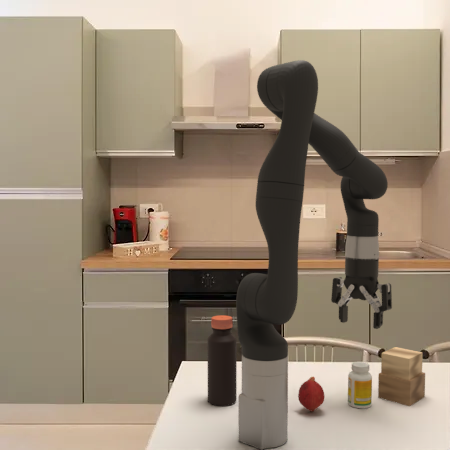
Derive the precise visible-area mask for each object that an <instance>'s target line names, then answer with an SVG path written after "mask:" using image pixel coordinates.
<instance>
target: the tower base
mask: <svg viewBox="0 0 450 450" xmlns="http://www.w3.org/2000/svg"><path fill="white" fill-rule="evenodd" d="M377 386H378V388H377V390H378V392H377V393H378V394H377V398H379V399H382V400H385V399H386V401H390V402H393V403H396V402H397V404H401V405H404V406H408V407H410V406H413V405H414V404H416V403H417V402H419V401H420V400H422V399H424V398H425V395H426V393H425V392H426V372H423V371H422V373H421V374H419V375H418V376H416V377H414V378H412V379H410V380H406V379H402V378H398V377H393V376H389V375H385V374H381V372H380V373H378V385H377Z"/></svg>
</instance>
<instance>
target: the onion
mask: <svg viewBox="0 0 450 450" xmlns="http://www.w3.org/2000/svg"><path fill="white" fill-rule="evenodd" d="M297 397H298V401H299V403H300V405H302V406H303V408H304V409H306V410H308V411H309V412H311V413H312V412H315V411H316V410H317V409H319V408H320V407H321V406H322V405H323V404H324V402H325V392H324V389H323V386H322V385H321V384H320V383H318V381H316V377H315V376H311V377H309V378H308V379H307V380H306V381H304V382H303V383H302V384H301V385H300V387H299V390H298V395H297Z"/></svg>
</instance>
